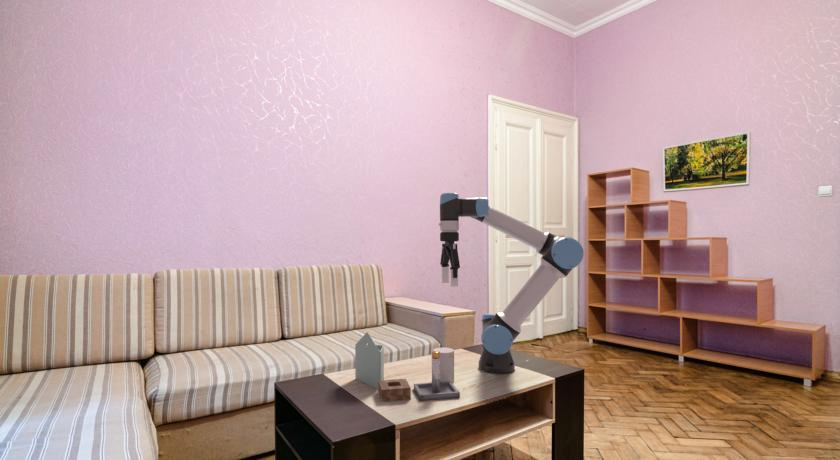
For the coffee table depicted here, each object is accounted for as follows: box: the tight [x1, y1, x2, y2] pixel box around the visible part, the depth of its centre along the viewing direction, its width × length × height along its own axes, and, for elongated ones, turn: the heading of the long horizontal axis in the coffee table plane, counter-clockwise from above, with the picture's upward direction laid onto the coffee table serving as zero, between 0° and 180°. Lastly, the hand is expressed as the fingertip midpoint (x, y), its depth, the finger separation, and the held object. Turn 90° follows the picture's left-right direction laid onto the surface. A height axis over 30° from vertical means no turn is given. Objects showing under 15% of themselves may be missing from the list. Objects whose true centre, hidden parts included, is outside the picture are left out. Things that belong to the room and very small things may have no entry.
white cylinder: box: [432, 347, 455, 384], centre depth 171 cm, size 8×8×12 cm
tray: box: [413, 381, 461, 402], centre depth 158 cm, size 14×12×2 cm
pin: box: [431, 350, 440, 393], centre depth 158 cm, size 3×3×14 cm
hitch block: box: [377, 378, 412, 403], centre depth 156 cm, size 10×10×4 cm
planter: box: [354, 331, 385, 390], centre depth 171 cm, size 16×8×20 cm, turn 41°
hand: (449, 284), depth 177 cm, fingers open, 13 cm apart
